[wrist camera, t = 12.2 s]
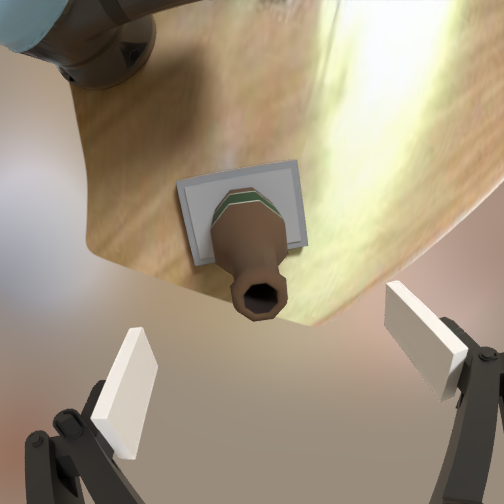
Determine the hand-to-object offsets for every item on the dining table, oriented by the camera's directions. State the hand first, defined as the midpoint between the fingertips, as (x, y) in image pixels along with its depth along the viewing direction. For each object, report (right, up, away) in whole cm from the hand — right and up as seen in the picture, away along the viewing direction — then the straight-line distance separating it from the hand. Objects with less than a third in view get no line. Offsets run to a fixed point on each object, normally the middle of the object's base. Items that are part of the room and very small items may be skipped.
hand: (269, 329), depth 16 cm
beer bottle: (-2, +9, +26) cm, 28 cm away
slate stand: (-2, +10, +28) cm, 30 cm away
